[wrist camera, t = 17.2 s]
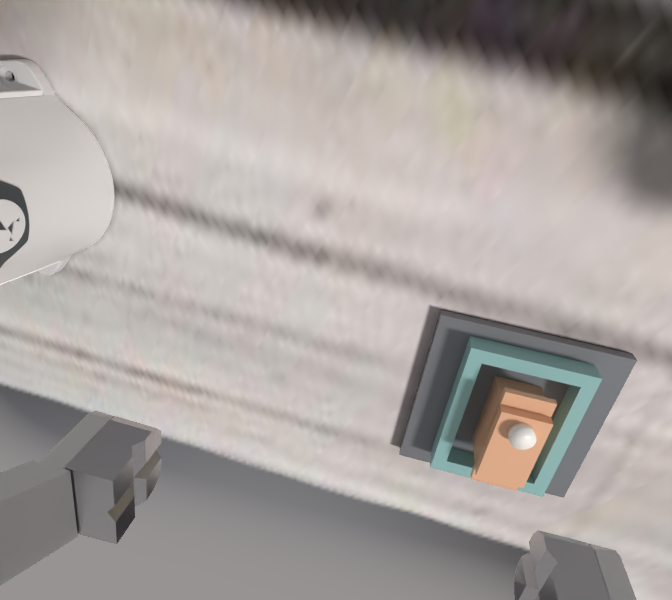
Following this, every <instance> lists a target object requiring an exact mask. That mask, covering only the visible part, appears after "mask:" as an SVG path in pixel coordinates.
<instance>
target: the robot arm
mask: <svg viewBox="0 0 672 600" xmlns="http://www.w3.org/2000/svg"><path fill="white" fill-rule="evenodd" d="M12 73H13V74H14V76H15V81H14V79H13V77H12ZM113 208H114V185H113V179H112V175H111V171H110V168H109V165H108V162H107V159H106V157H105V155H104V153H103V151H102V149H101V147H100V145H99V143H98V142H97V140H96V138H95V137H94V135H93V134H92V133H91V131H90V130H89V129H88V127H87V126H86V125H85V124H84V123H83V121H82V120H81V119H80V118H79V117H78V116H77V115H76V114H75V113H74V112H72V111H71V110H70V109H69V108H68V107H67V106H66V105H65V104H64V103H63V102H62V101H61V100H60V99H59V98H58V97H57V96H56V94H55V92H54V91H53V89H52V87H51V85H50V84H49V82H48V80H47V79H46V77H45V75H44V74H43V72H42V71H41V70H40V68H39V67H38V66H37V65H36V64H35V63H34V62H32V61H30V60H28V59H11V60H0V285H2V284H4V283H7V282H10V281H12V280H15V279H18V278H20V277H23V276H25V275H28V274H30V273H33V272H35V271H36V272H38V273H41V274H44V275H52V274H54V273H57V272H59V271H61V270H62V269H63V267H64V266H65V265H66V263H67V262H68V260H69V259H70V257H71V256H72V255H74V254H75V253H77V252H79V251H82V250H84V249H86V248H88V247H90V246H91V245H93V244H94V243H95V242H97V241H98V240H99V239H100V238H101V237H102V235H103V234H104V233H105V231H106V229H107V227H108V226H109V223H110V221H111V218H112V214H113ZM160 444H161V431H160V430H159V429H157V428H153V427H150V426H147V425H143V424H140V423H137V422H133V421H130V420H127V419H123V418H120V417H115V416H112V415H108V414H105V413H102V412H98V411H94V412H92V413H89V414H88V415H87V416H85V417H84V418H83V419H82V421H80V422H79V423H78V424H77V425H76V426H75V427H74V428H73V429H72V430H71V431H70V432H69V433H68V434H67V435H66V436H65V437H64V438H63V439H62V440H61V441H60V442H59V443H58V444H57V445H56V446H55V447H54V448H53V449H52V450H51V451H50V452H49V453H48V454H47V455H46V456H45V457H44V458H43V459H42V460H41V461H40V462H38V461H34V460H32V461H30V462H27V463H25V464H22V465H19V466H17V467H14V468H12V469H9V470H7V471H4V472H2V473H0V585H2V584H4V583H5V582H7V581H8V580H10V579H11V578H13V577H15V576H16V575H18V574H19V573H21V572H23V571H24V570H26V569H27V568H29V567H30V566H32V565H33V564H35V563H37V562H38V561H40V560H42V559H43V558H44V557H46V556H48V555H49V554H51V553H52V552H54V551H56V550H57V549H59V548H60V547H62V546H64V545H65V544H67V543H68V542H70V541H71V540H73V539H75V538H76V537H77V536H78V534H80V535H84V536H88V537H92V538H96V539H99V540H103V541H108V542H111V543H115V544H117V543H118V542H119V540H120V539H121V537H122V536H123V534H124V533H125V531H126V530H127V529H128V527H129V525H130V524H131V523H132V521H133V520H134V518H135V506H137V505H139V504H141V503H142V502H144V501H146V500H147V499H148V497H149V496H150V494H151V493H152V491H153V489H154V487H155V485H156V483H157V480H158V478H159V475H160V470H161V456H160V455H159V453H158V452H157V450H156V449H157V448H158V446H159V445H160ZM529 545H530V551H531V552H530V553H528V554H526V555H523V556H522V557H521V559H520V561H519V563H518V565H517V568H516V574H515V579H514V595H515V600H636V597H635V594H634V592H633V589H632V586H631V584H630V581H629V578H628V576H627V573H626V571H625V568H624V565H623V563H622V560H621V557H620V555H619V554H618V553H617V552H616V551H615V550H612V549H608V548H604V547H600V546H596V545H592V544H587V543H585V542H581V541H577V540H574V539H570V538H566V537H562V536H558V535H554V534H550V533H546V532H542V531H537V532H535V533H534V534H533V536H532V537H531V539H530V541H529Z"/></svg>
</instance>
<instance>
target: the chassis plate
mask: <svg viewBox="0 0 672 600" xmlns="http://www.w3.org/2000/svg"><path fill="white" fill-rule="evenodd" d="M636 361H637V360H636V358H635V357H634V355H633V354H631V353H627V352H622V351H618V350H614V349H609V348H605V347H601V346H596V345H592V344H588V343H583V342H579V341H575V340H570V339H566V338H562V337H557V336H553V335H549V334H544V333H540V332H536V331H531V330H527V329H523V328H518V327H514V326H510V325H505V324H501V323H497V322H492V321H488V320H484V319H479V318H475V317H471V316H466V315H462V314H458V313H453V312H449V311H445V310H441V312H440V315H439V319H438V322H437V325H436V329H435V332H434V335H433V339H432V342H431V346H430V349H429V352H428V356H427V359H426V362H425V366H424V369H423V372H422V376H421V379H420V383H419V386H418V389H417V393H416V396H415V399H414V403H413V406H412V409H411V413H410V416H409V420H408V423H407V426H406V430H405V433H404V436H403V440H402V443H401V446H400V454H399V455H403V456H406V457H410V458H414V459H418V460H422V461H425V462H429V463H430V467H431V468H435V469H439V470H443V471H447V472H450V473H454V474H458V475H462V476H466V477H469V478H471V476H470V473H471V471H472V468H473V466H474V463H475V462H474V451H473V439H472V435H473V433H474V430H475V428H476V425H477V422H478V420H479V417H480V414H481V412H482V409H483V407H484V404H485V401H486V399H487V396H488V393H489V391H490V388H491V386H492V383H493V380H494V378H495V376H498V377H502V378H506V379H510V380H515V381H519V382H523V383H527V384H531V385H535V386H540V387H542V390H543V393H544V396H545V397H546V398H550V399H555V400H556V402H557V406H556V408H555V410H554V412H553V415H552V417H551V418H552V421H553V424H554V425H553V427H552V429H551V431H550V433H549V435H548V438H547V440H546V442H545V444H544V446H543V448H542V450H541V452H540V454H539V456H538V459H537V461H536V463H535V465H534V467H533V469H532V471H531V473H530V475H529V478H528V480H527V482H526V484H525V486H524V488H520V487H518V489H517V490H519V491H523V492H527V493H530V494H534V495H538V496H542V497H543V495H544V493H548V494H552V495H556V496H559V497H563V498H564V496H565V494H566V492H567V490H568V488H569V487H570V485H571V483H572V481H573V479H574V477H575V475H576V473H577V472H578V470H579V468H580V466H581V464H582V462H583V460H584V458H585V457H586V455H587V453H588V451H589V449H590V447H591V445H592V444H593V442H594V440H595V438H596V436H597V434H598V432H599V430H600V429H601V427H602V425H603V423H604V421H605V419H606V417H607V416H608V414H609V412H610V410H611V408H612V406H613V404H614V402H615V401H616V399H617V397H618V395H619V393H620V391H621V389H622V388H623V386H624V384H625V382H626V380H627V378H628V376H629V374H630V373H631V371H632V369H633V367H634V365H635V363H636Z"/></svg>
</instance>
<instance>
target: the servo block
mask: <svg viewBox="0 0 672 600" xmlns="http://www.w3.org/2000/svg"><path fill="white" fill-rule="evenodd" d="M556 406H557V402H556V400H555V399H550V398H546V397H545V396H544V393H543V390H542V387H540V386H535V385H531V384H527V383H523V382H519V381H515V380H510V379H506V378H502V377H498V376H495V378H494V380H493V383H492V386H491V388H490V391H489V393H488V396H487V399H486V401H485V404H484V407H483V409H482V412H481V414H480V417H479V420H478V422H477V425H476V428H475V430H474V433H473V435H472V439H473V451H474V462H475V463H474V466H473V468H472V471H471V473H470V476H471V479H473V480H477V481H481V482H485V483H488V484H492V485H496V486H500V487H504V488H508V489H511V490H515V491H517V489H518V487H520V488H524V486H525V484H526V482H527V480H528V478H529V475H530V473H531V471H532V469H533V467H534V465H535V463H536V461H537V459H538V456H539V454H540V452H541V450H542V448H543V446H544V444H545V442H546V440H547V438H548V435H549V433H550V431H551V429H552V427H553V425H554V424H553V421H552V418H551V417H552V415H553V412H554V410H555V408H556Z"/></svg>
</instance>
